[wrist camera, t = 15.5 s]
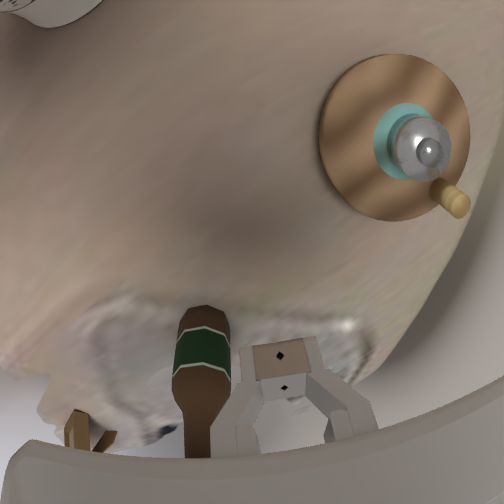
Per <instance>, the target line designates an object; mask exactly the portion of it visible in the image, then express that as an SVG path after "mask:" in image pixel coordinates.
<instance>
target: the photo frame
mask: <svg viewBox="0 0 504 504" xmlns="http://www.w3.org/2000/svg"><path fill="white" fill-rule="evenodd" d="M116 434H117V431H106V432H105V433H104V434H103V436H102V437H101V439H100V440H99V442H98V443H97V444H96V446H95V447H94V449H93V450H92V451H93V452H100V453H103V452H104V451H105V450H107V449H108V448H109V447H110V446H111V445H112V444H113V443H114V440H115V437H116ZM64 441H65V447H70V448H75V449H81V450H86V451H90V439H89V421H88V414H87V413H82V412H77V411H73V413H72V415H71V417H70V419H69V420H68V422H67V424H66V426H65V428H64Z"/></svg>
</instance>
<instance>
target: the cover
mask: <svg viewBox="0 0 504 504" xmlns="http://www.w3.org/2000/svg"><path fill="white" fill-rule="evenodd" d="M451 150H452V146H451V139H450V136H449V133H448V131H447V130H446V128H445V127H444V126H443V125H442V124H441V123H440V122H438V121H436V120H434V119H431V118H428V117H425V116H423V115H420V114H415V113H410V114H406V115H403V116H402V117H400V118H399V119H397V120H396V121H395V122H394V124H393V125H392V127H391V128H390V131H389V133H388V137H387V152H388V155H389V158H390V160H391V162H392V163H393V164H394V166H396V167H397V168H398V169H399V170H401V171H402V172H403V173H405V174H406V175H408V176H409V177H410V178H412V179H413V180H415V181H418V182H428V181H431V180H434V179H436V178H437V177H438V176H440V175H441V174H442V173H443V171H444V170H445V169H446V167H447V165H448V163H449V160H450V157H451Z"/></svg>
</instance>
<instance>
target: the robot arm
mask: <svg viewBox="0 0 504 504" xmlns="http://www.w3.org/2000/svg"><path fill="white" fill-rule="evenodd" d="M101 1H102V0H0V12H9V13H12V14H16V15H18V16H21V17H23V18H25V19H27V20H28V21H30V22H31V23H33V24H35V25H37V26H40V27H45V28H52V27H58V26H62V25H65V24H68V23H70V22H73V21H75V20H77V19H78V18H80V17H82V16H83V15H85V14H86V13H88V12H89V11H91V10H92V9H93V8H94V7H96V6H97V5H98V4H99V3H100V2H101ZM239 355H240V368H241V380H242V383H238V384H237V386H236V387H235V389H234V390H233V392H232V394H231V395H230V397H229V398H228V400H227V402H226V403H225V405H224V406H223V408H222V410H221V411H220V413H219V414H218V416H217V417H216V419H215V421H214V422H213V424H212V425H211V427H210V444H211V458H152V457H151V458H150V457H136V456H124V455H114V454H107V453H100V452H93V451H86V450H81V449H75V448H70V447H64V446H60V445H55V444H51V443H46V442H42V441H39V440H29V441H28V442H26V443H25V444H24V445H23V446H22V447H21V448H20V449H19V450H18V451H17V452H16V453H15V454H14V455H13V456H12V457H11V458H10V460H9V463H8V466H7V469H6V472H5V476H4V481H3V487H2V494H1V501H0V504H504V376H502V377H500V378H498V379H497V380H495V381H493V382H491V383H489V384H487V385H486V386H484V387H482V388H480V389H478V390H476V391H474V392H472V393H470V394H468V395H466V396H464V397H462V398H460V399H458V400H455V401H453V402H451V403H449V404H446V405H444V406H442V407H439V408H437V409H435V410H432V411H430V412H427V413H425V414H422V415H419V416H417V417H414V418H412V419H409V420H406V421H403V422H400V423H397V424H395V425H392V426H388V427H385V428H382V429H378V425H377V422H376V419H375V416H374V413H373V410H372V407H371V404H370V401H368V400H367V399H366V398H364V397H363V396H362V395H361V394H360V393H358V392H357V391H356V390H354V389H353V388H352V387H351V386H349V385H348V384H347V383H346V382H344V381H343V380H342V379H341V378H340V377H338V376H337V375H336V374H335V373H333V372H332V371H331V370H330V369H325V367H324V364H323V360H322V357H321V353H320V350H319V346H318V343H317V340H316V337H315V336H311V337H305V338H298V339H292V340H286V341H281V342H277V343H269V344H261V345H253V346H244V347H240V348H239ZM302 395H306V397H307V398H308V399H309V400H310V401H311V402H312V403H313V404H314V405H315V406H316V407H317V408H318V409H319V410H320V411H321V412H322V413H323V414H324V415H325V416H326V417H327V418H328V423H327V426H326V429H325V432H324V440H325V444H320V445H315V446H310V447H305V448H299V449H294V450H288V451H281V452H273V453H266V454H261V449H260V444H259V441H258V438H257V434H256V431H255V428H254V427H253V425H254V423H255V421H256V419H257V417H258V415H259V413H260V411H261V409H262V407H263V405H264V401H270V400H276V399H282V398H289V397H296V396H302Z"/></svg>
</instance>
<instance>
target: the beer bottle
mask: <svg viewBox="0 0 504 504" xmlns="http://www.w3.org/2000/svg"><path fill="white" fill-rule="evenodd" d="M172 375H173V376H172V392H173V395H174V399H175V401H176V403H177V404H178V406H179V407H180V409H181V410H182V412H183V419H184V446H185V458H211V444H210V427H211V425H212V424H213V422H214V421H215V419H216V417H217V416H218V414H219V413H220V411H221V410H222V408H223V406H224V405H225V403H226V402H227V400H228V398H229V397H230V392H231V360H230V329H229V324H228V322H227V319H226V317H225V315H224V313H223V312H222V311H220V310H217V309H215V308H212V307H210V306H207V305H204V306H199V307H194V308H189V309H188V310H187V312H186V313H185V315H184V316H183V318H182V319H181V321H180V325H179V329H178V336H177V343H176V350H175V358H174V366H173V374H172Z"/></svg>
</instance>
